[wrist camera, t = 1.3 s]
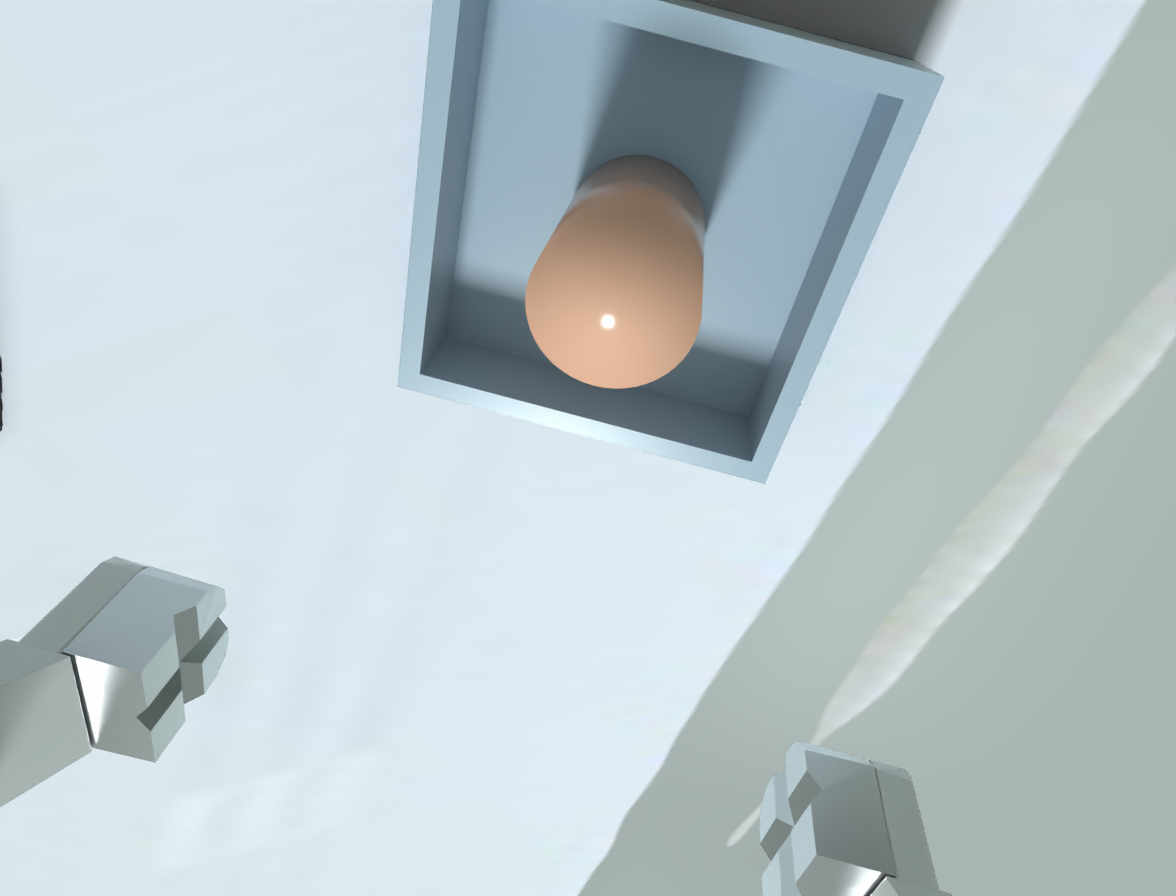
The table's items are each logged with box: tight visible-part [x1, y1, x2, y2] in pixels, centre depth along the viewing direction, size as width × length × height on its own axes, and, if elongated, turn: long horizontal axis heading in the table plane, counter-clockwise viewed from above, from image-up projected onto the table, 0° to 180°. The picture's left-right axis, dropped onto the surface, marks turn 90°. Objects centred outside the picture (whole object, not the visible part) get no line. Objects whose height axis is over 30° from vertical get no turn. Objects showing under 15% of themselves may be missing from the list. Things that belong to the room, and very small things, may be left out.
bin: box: [398, 0, 944, 484], centre depth 27 cm, size 15×15×4 cm
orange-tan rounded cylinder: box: [525, 155, 705, 389], centre depth 25 cm, size 5×5×8 cm
